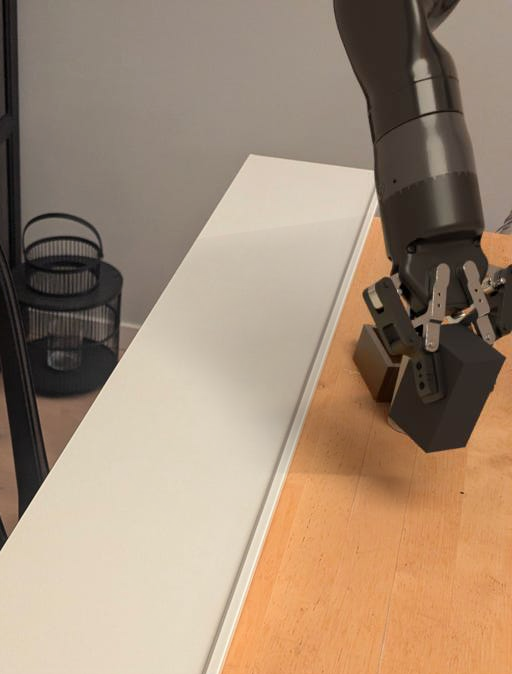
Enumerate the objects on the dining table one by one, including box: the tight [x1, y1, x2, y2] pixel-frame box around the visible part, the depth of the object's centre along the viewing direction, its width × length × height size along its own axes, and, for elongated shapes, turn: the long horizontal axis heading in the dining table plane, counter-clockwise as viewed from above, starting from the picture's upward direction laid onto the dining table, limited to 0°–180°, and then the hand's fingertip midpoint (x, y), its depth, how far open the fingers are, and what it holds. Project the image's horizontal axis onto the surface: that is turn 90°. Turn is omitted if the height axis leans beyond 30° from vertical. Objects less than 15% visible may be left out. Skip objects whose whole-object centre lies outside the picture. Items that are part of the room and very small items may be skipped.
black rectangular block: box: [387, 323, 507, 454], centre depth 77 cm, size 4×6×8 cm, turn 17°
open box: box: [352, 323, 403, 403], centre depth 104 cm, size 9×10×4 cm
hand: (459, 397), depth 76 cm, fingers closed on black rectangular block, 4 cm apart
